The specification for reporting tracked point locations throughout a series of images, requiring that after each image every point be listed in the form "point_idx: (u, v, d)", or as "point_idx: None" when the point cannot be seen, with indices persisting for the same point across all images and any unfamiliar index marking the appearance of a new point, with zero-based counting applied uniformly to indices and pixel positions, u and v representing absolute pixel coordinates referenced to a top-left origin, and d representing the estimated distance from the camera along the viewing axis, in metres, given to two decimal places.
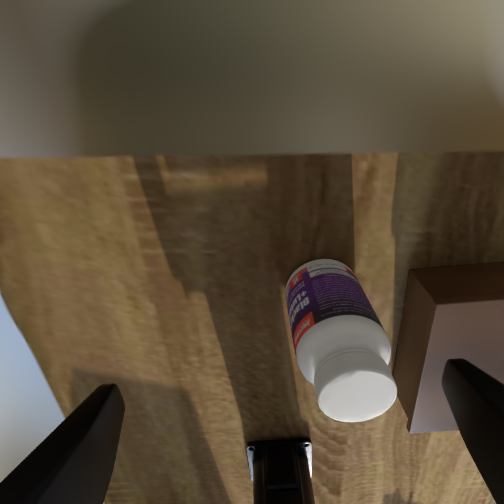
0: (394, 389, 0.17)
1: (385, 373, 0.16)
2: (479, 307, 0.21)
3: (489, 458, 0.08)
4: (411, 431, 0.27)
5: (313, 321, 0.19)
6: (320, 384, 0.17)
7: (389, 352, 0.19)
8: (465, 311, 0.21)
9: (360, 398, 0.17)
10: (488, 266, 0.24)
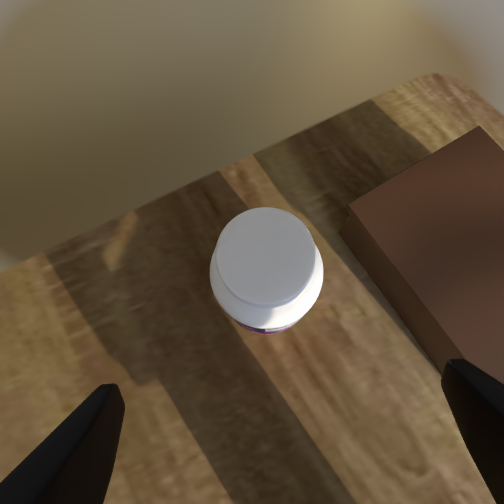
0: (296, 221, 0.14)
1: None
2: (391, 187, 0.19)
3: (489, 458, 0.08)
4: None
5: None
6: (215, 261, 0.14)
7: None
8: (382, 197, 0.19)
9: (269, 253, 0.13)
10: None
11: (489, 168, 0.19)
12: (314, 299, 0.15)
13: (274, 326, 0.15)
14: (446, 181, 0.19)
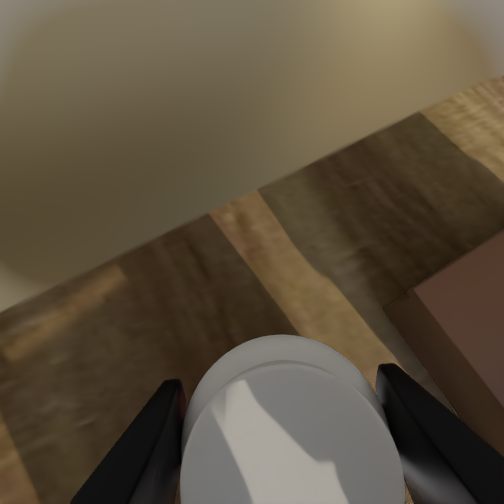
0: (358, 401, 0.06)
1: (303, 365, 0.07)
2: (481, 260, 0.12)
3: (408, 463, 0.08)
4: None
5: None
6: None
7: (357, 376, 0.09)
8: (468, 278, 0.12)
9: (299, 483, 0.06)
10: None
11: None
12: None
13: None
14: None
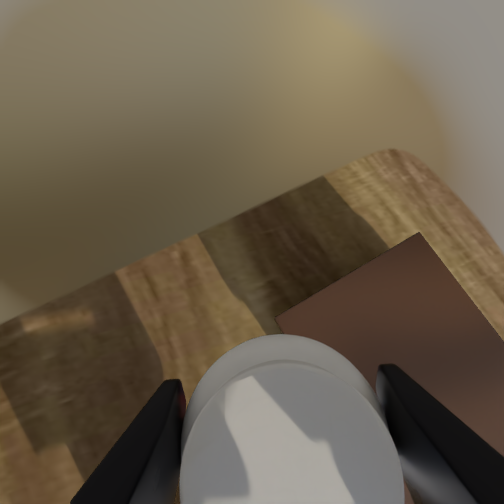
0: (357, 401, 0.06)
1: (302, 364, 0.07)
2: (321, 300, 0.18)
3: (408, 463, 0.08)
4: None
5: None
6: None
7: (356, 375, 0.09)
8: (311, 311, 0.18)
9: (298, 482, 0.06)
10: None
11: (425, 282, 0.18)
12: None
13: None
14: (379, 295, 0.18)
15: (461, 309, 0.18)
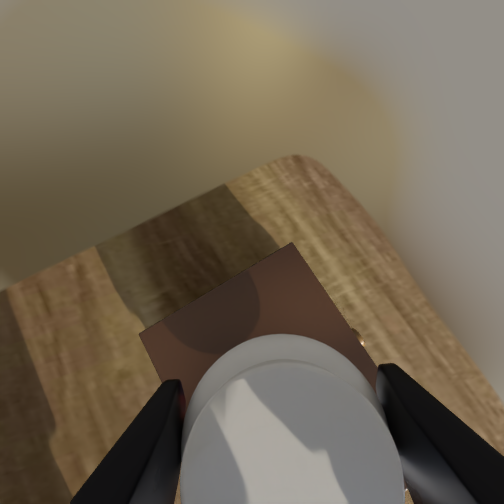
0: (358, 400, 0.06)
1: (302, 363, 0.07)
2: (187, 314, 0.18)
3: (408, 463, 0.08)
4: None
5: None
6: None
7: (357, 375, 0.09)
8: (176, 326, 0.18)
9: (299, 481, 0.06)
10: None
11: (294, 293, 0.18)
12: None
13: None
14: (246, 308, 0.18)
15: (327, 321, 0.18)
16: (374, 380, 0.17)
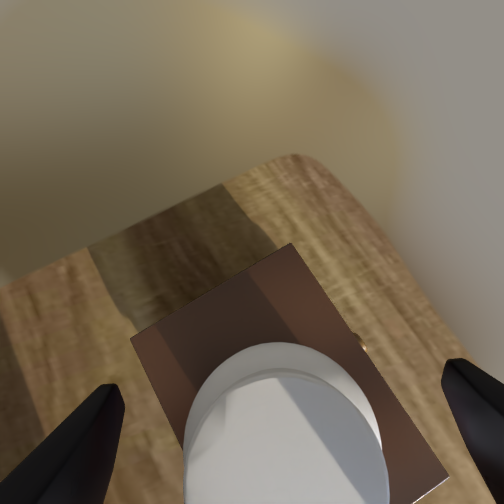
0: (347, 408, 0.07)
1: (297, 374, 0.07)
2: (181, 318, 0.17)
3: (489, 458, 0.08)
4: None
5: None
6: None
7: (349, 382, 0.09)
8: (169, 331, 0.17)
9: (292, 482, 0.06)
10: None
11: (293, 296, 0.17)
12: None
13: None
14: (243, 312, 0.17)
15: (328, 325, 0.17)
16: (377, 387, 0.16)
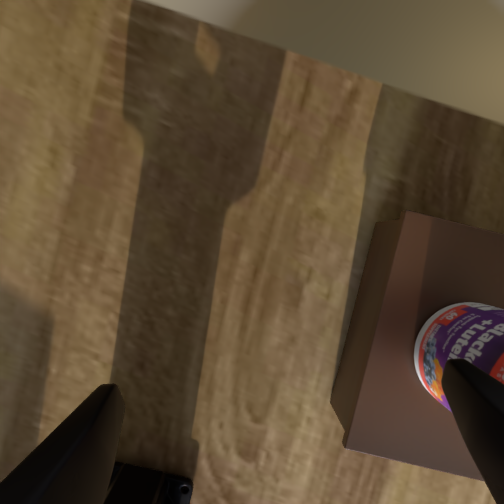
0: None
1: None
2: (455, 231, 0.17)
3: (489, 458, 0.08)
4: (348, 444, 0.17)
5: None
6: None
7: None
8: (438, 232, 0.17)
9: None
10: None
11: None
12: None
13: None
14: (502, 271, 0.17)
15: None
16: None
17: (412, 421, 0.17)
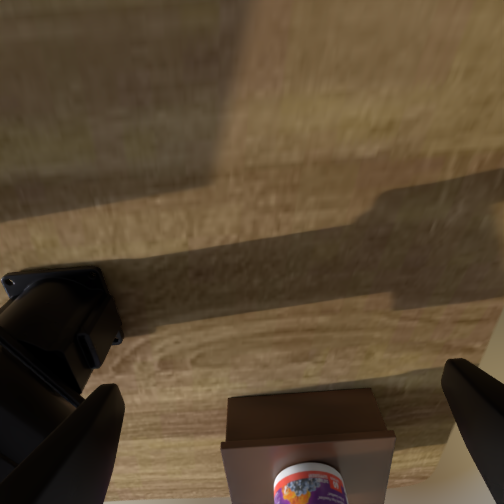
0: None
1: None
2: (385, 460, 0.25)
3: (489, 458, 0.08)
4: (224, 450, 0.25)
5: None
6: None
7: None
8: (383, 454, 0.25)
9: None
10: None
11: (354, 500, 0.28)
12: None
13: None
14: (364, 482, 0.27)
15: None
16: None
17: (254, 471, 0.26)
